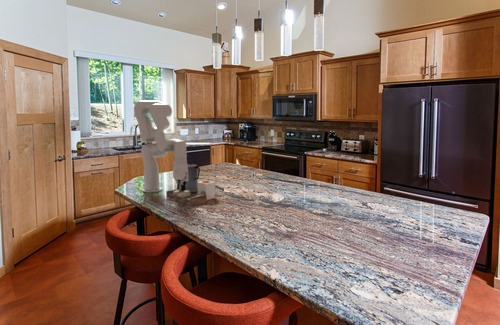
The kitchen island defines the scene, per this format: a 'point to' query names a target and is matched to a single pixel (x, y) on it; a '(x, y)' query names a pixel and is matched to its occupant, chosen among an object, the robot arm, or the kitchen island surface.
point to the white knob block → (206, 189)
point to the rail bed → (187, 198)
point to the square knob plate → (181, 192)
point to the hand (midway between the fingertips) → (181, 190)
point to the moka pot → (192, 177)
